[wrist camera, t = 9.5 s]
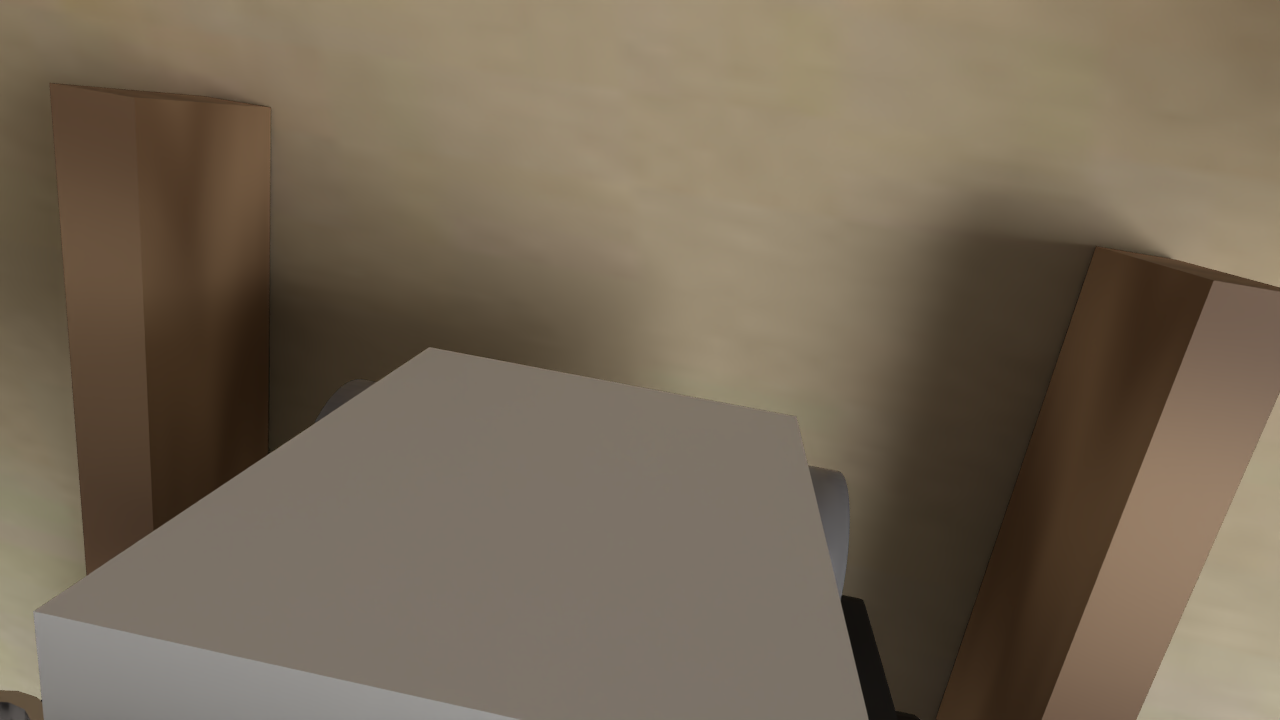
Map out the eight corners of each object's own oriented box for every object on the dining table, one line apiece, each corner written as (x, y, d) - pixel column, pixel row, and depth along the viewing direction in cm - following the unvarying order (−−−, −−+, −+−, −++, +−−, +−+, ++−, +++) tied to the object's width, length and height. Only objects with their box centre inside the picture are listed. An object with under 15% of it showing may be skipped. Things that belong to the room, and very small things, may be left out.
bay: (204, 95, 13) (48, 82, 10) (1176, 259, 12) (1320, 298, 9) (215, 717, 17) (106, 837, 14) (941, 886, 15) (988, 1056, 13)
